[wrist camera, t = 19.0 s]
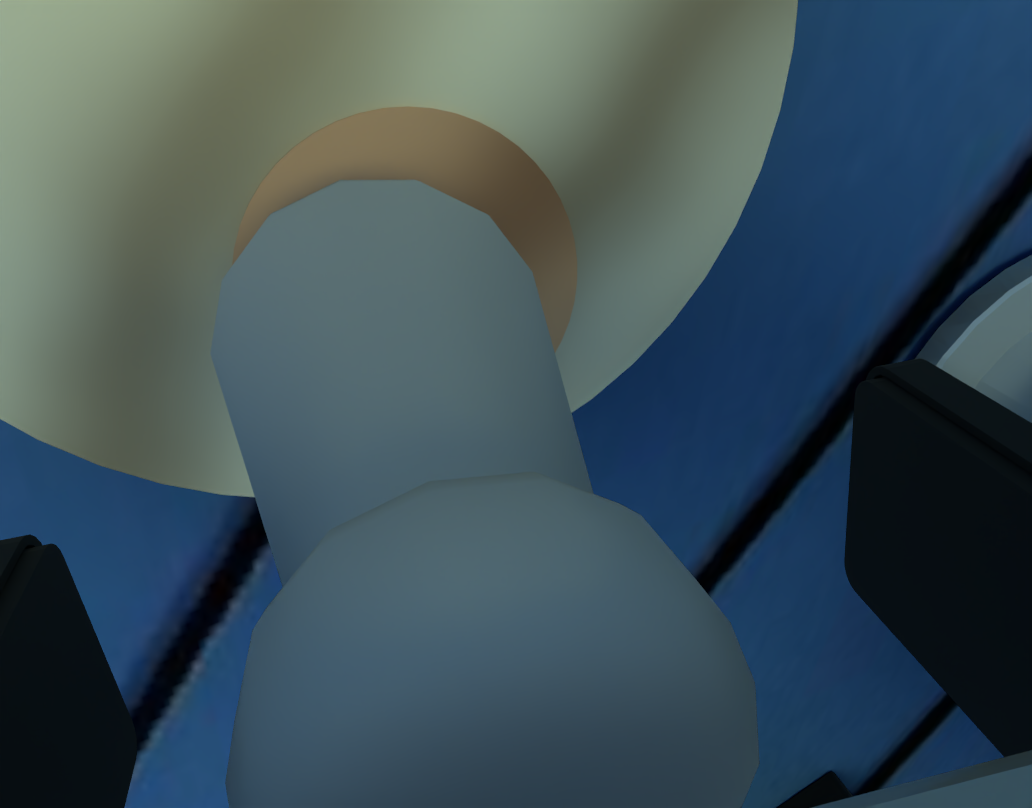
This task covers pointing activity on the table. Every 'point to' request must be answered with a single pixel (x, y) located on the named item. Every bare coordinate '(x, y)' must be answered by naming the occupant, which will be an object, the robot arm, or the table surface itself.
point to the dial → (349, 178)
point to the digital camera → (819, 793)
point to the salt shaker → (449, 540)
